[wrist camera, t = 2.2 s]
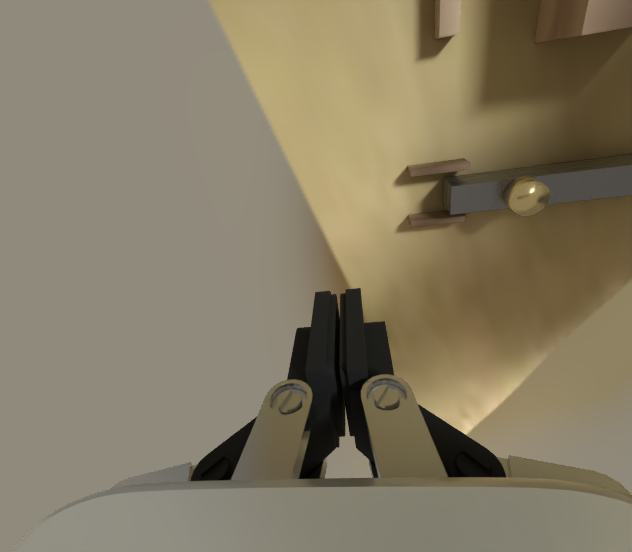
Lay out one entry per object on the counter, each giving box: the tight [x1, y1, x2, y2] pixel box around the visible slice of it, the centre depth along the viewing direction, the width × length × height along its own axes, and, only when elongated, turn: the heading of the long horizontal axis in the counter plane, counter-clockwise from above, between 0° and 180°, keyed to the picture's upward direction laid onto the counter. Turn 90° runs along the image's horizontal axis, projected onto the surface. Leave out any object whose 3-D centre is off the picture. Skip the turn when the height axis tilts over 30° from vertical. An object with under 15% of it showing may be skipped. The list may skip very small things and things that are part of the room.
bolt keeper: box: [408, 159, 470, 227], centre depth 22 cm, size 4×4×1 cm
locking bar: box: [443, 154, 632, 216], centre depth 20 cm, size 12×2×3 cm, turn 99°
